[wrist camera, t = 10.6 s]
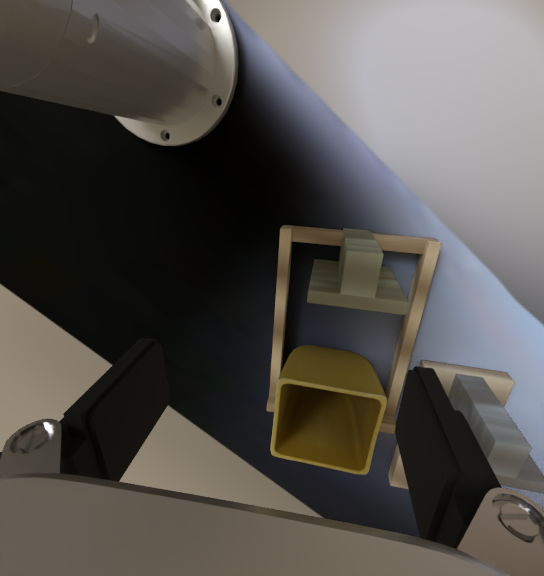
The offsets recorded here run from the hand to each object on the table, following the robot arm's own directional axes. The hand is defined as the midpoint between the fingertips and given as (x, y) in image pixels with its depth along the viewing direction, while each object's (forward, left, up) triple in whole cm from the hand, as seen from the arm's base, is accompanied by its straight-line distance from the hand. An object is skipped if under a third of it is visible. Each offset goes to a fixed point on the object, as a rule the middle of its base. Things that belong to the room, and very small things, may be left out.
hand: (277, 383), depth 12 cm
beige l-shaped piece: (+19, +16, -20) cm, 32 cm away
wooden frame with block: (+8, +4, -20) cm, 21 cm away
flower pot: (+13, +3, -20) cm, 24 cm away
